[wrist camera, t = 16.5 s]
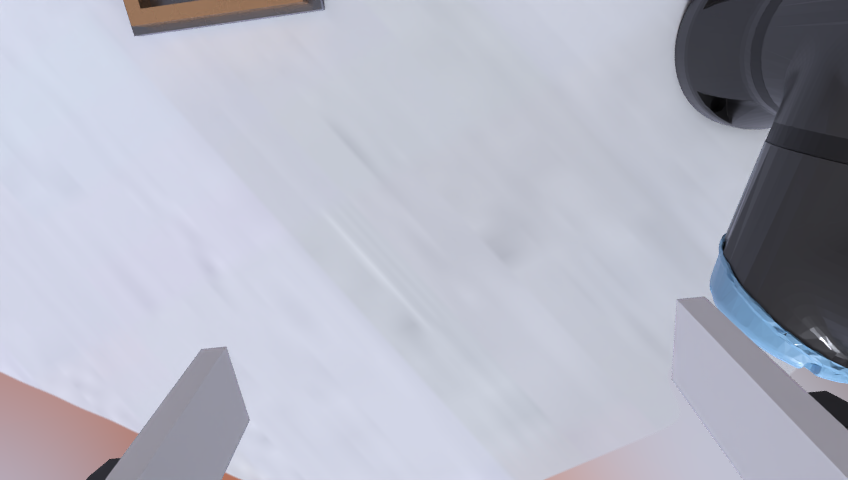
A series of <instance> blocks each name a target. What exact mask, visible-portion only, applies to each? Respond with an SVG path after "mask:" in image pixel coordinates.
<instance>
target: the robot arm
mask: <svg viewBox="0 0 848 480" xmlns="http://www.w3.org/2000/svg"><path fill="white" fill-rule="evenodd" d="M675 66H676V73H677V78H678V81H679V84H680V86H681V89H682V91H683V93H684V95H685V96H686V98H687V99H688V101H689V102H690V103H691V105H692V106H693V107H694V108H695V109H696V110H697V111H699V112H700V113H701V114H702V115H704V116H706V117H707V118H709V119H711V120H713V121H716V122H718V123H722V124H725V125H729V126H732V127H736V128H742V129H766V128H771V129H770V132H769V134H768V137H767V139H766V141H765V142H764V145H763V147H762V149H761V152H760V154H759V157H758V159H757V161H756V164H755V166H754V169H753V171H752V173H751V176H750V178H749V180H748V183H747V185H746V188H745V190H744V192H743V195H742V197H741V200H740V202H739V204H738V207H737V209H736V211H735V214H734V216H733V219H732V221H731V223H730V226H729V228H728V231H727V233H726V234H725V235H723V236H722V239H721V241H720V244H719V255H718V258H717V261H716V264H715V266H714V269H713V272H712V275H711V278H710V290H711V293H712V296H713V301H714V303H715V305H716V307H717V308H718V309H717V308H716V307H715V306H714V305H713V304H712V303H711V302H710V301H709V300H708V299H707V298H706V297H695V298H685V299H677V303H676V318H675V334H674V349H673V364H672V381H673V382H674V383H675V385H676V386H677V388H678V389H679V391H680V392H681V393H682V395H683V396H684V398H685V399H686V400H687V402H688V403H689V405H690V406H691V407H692V409H693V410H694V412H695V413H696V415H697V416H698V417H699V419H700V420H701V421H702V423H703V424H704V426H705V427H706V429H707V430H708V431H709V432H710V434H711V436H712V437H713V438H714V440H715V441H716V442H717V444H718V445H719V447H720V448H721V450H722V451H723V452H724V454H725V455H726V457H727V458H728V459H729V461H730V462H731V464H732V465H733V466H734V468H735V469H736V471H737V472H738V473H739V475H740V476H741V478H742V479H743V480H848V402H846V401H844V400H842V399H841V398H839V397H837V396H835V395H833V394H831V393H829V392H827V391H820V392H809V393H808V392H806V391H805V390H804V389H803V388H802V387H801V386H800V385H799V384H798V383H797V382H796V381H795V380H793V379H792V378H791V377H790V376H789V375H788V374H787V373H786V372H785V371H784V370H783V369H782V368H781V367H780V366H779V365H777V364H776V363H775V362H774V361H773V360H772V359H771V358H770V357H769V356H768V355H767V354H766V353H765V352H763V351H762V350H761V349H760V348H762V349H763V350H765V351H766V352H768V353H769V354H771V355H773V356H774V357H776V358H778V359H780V360H782V361H784V362H786V363H788V364H790V365H792V366H794V367H796V368H802V367H806V368H807V369H808V370H810V371H811V372H812V373H813V374H815V375H816V376H819V377H821V378H824V379H828V380H831V381H835V382H840V383H848V0H692V2H691V3H690V5H689V7H688V9H687V11H686V13H685V15H684V17H683V20H682V22H681V25H680V28H679V32H678V36H677V41H676V48H675ZM758 346H759V347H760V348H759V347H758ZM249 421H250V419H249V416H248V413H247V410H246V407H245V404H244V400H243V397H242V394H241V391H240V388H239V385H238V382H237V379H236V375H235V372H234V369H233V366H232V363H231V360H230V357H229V353H228V350H227V347H218V348H208V349H201V350H200V352H199V353H198V354H197V356H196V357H195V359H194V360H193V361H192V363H191V364H190V365H189V367H188V368H187V369H186V371H185V372H184V373H183V375H182V376H181V378H180V379H179V380H178V382H177V383H176V384H175V386H174V387H173V388H172V390H171V391H170V392H169V394H168V395H167V396H166V398H165V399H164V401H163V402H162V403H161V405H160V406H159V407H158V409H157V410H156V411H155V413H154V414H153V415H152V417H151V418H150V420H149V421H148V422H147V424H146V425H145V426H144V428H143V429H142V430H141V432H140V433H139V434H138V436H137V437H136V439H135V440H134V441H133V443H132V444H131V445H130V447H129V448H128V449H127V451H126V452H125V453H124V455H123V456H122V457H121V458H116V459H109V460H108V461H107V462H106V463H105V464H103V465H102V466H101V467H100V468H99V469H97V470H96V471H95V472H94V473H93V474H91V475H90V476H89V477H88V478H87V479H86V480H222V478H223V475H224V473H225V471H226V469H227V467H228V465H229V463H230V461H231V459H232V456H233V454H234V452H235V450H236V448H237V446H238V444H239V442H240V440H241V437H242V435H243V433H244V431H245V429H246V427H247V425H248V423H249Z"/></svg>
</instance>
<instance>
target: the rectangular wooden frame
mask: <svg viewBox="0 0 848 480" xmlns="http://www.w3.org/2000/svg"><path fill="white" fill-rule="evenodd" d="M123 1H124V4H125V7H126V11H127V14H128V17H129V20H130V23H131V27H132V30H133V33H134V36H144V35H152V34H159V33H166V32H173V31H180V30H187V29H194V28H201V27H208V26H215V25H222V24H229V23H236V22H243V21H250V20H257V19H264V18H271V17H279V16H286V15H293V14H300V13H307V12H314V11H321V10H325V8H324V3H323V0H123Z"/></svg>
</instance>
